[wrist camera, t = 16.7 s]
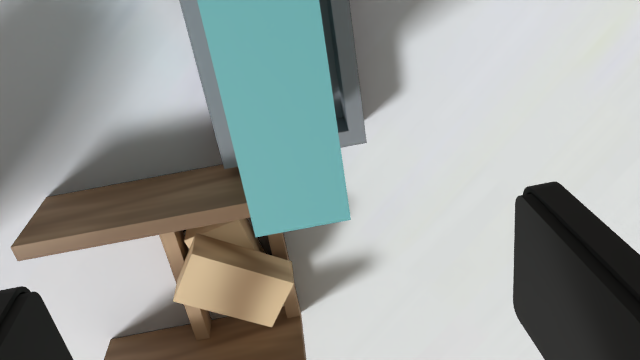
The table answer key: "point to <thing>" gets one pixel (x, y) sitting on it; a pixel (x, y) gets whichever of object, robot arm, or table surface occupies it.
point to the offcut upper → (234, 281)
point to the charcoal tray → (340, 69)
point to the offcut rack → (168, 221)
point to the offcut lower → (228, 234)
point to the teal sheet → (279, 110)
